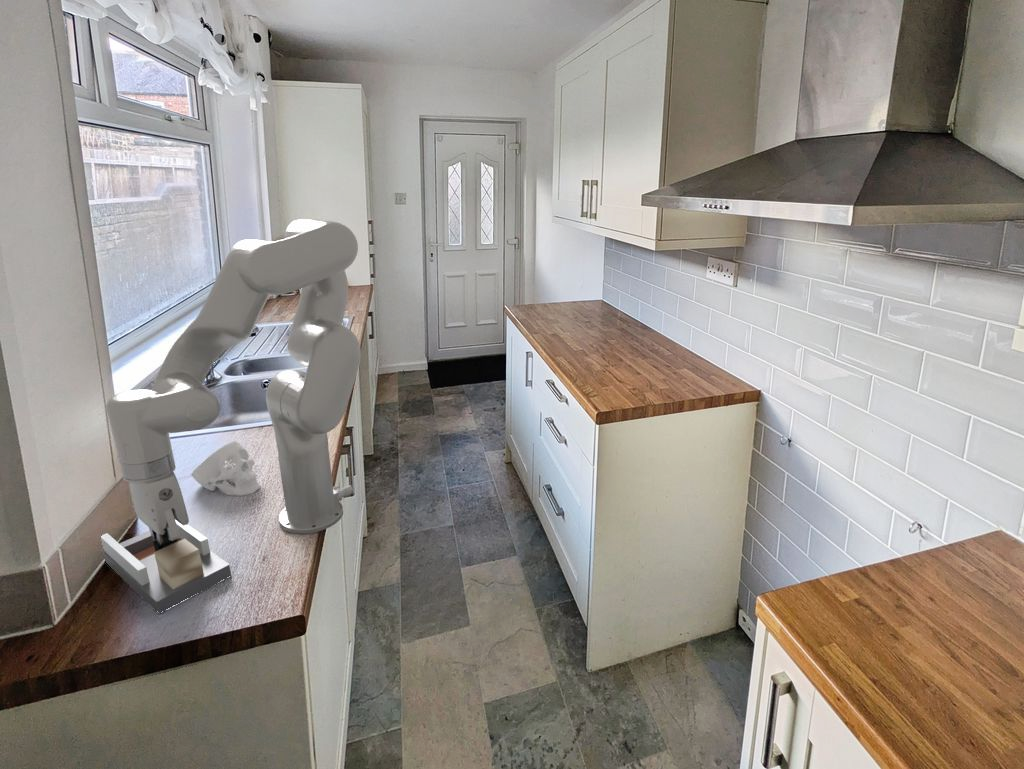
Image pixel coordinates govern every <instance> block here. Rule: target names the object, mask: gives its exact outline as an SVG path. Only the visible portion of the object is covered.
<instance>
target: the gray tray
mask: <svg viewBox="0 0 1024 769" xmlns="http://www.w3.org/2000/svg"><path fill="white" fill-rule="evenodd" d="M175 521H176V524H177V527H178V531H179V534H180V538H178V539H177V540H178V541H180V540H183V539H186V540H187V541H189V542H190V543H191V544H193V545H194V546H195V547H197V548H198V549H199V553H200V558H201V562H202V567H203V572H204V574H203V575H201V576H199V577H197V578H195V579H193V580H191V581H189V582H187V583H185V584H183V585H181V586H179V587H177V588H175V589H172V588H171V587H170V586H169V585H168V584H167V583H166V582H165V581H163V580H162V579H161V578H160V576H159V572H158V567H157V563H156V559H155V555H154V552H155V548H154V544H153V541H155V540H153V539H152V536H151V533H150V530H148V531H145V532H143V533H141V534H138V535H136V536H134V537H132V538H128V539H126V540H124V541H121V542H120V543H119V542H118V541H117V540H116V539H115V538H113V537H112V536H111V535H110V534H109V533H107V532H106V533H104V534H102V536H101V535H100V536H101V540H100V542H101V541H102V543H101V546H102V545H103V547H102V551H103V549H104V551H103V555H104V558H103V560H104V559H105V561H106V563H107V564H108V565H109V566H110V567H111V568H112V569H113V570H114V571H115V572H116V573H117V574H118V575H120V576H121V577H122V578H123V579H124V580H125V581H126V582H127V583H128V584H129V585H130V586H131V587H132V588H133V589H134V590H135V591H136V592H137V593H138V594H139V595H140V596H139V597H141V596H142V597H143V598H144V599H145V600H144V599H143V598H142V597H141V598H142V599H143V600H144V602H146V601H147V602H148V603H149V604H150V605H151V606H152V607H153V608H154V609H155V610H156V611H158V612H159V613H161V612H162V611H165V610H166V609H168V608H170V607H172V606H173V605H176V604H178V603H180V602H181V601H183V600H185V599H187V598H190V597H191V596H193V595H195V594H197V593H199V594H201V593H202V592H201V591H203V590H205V589H207V588H209V587H211V586H213V585H214V586H216V585H218V584H219V583H218V582H220V581H221V580H223V579H226V578H227V577H229V576H231V577H232V572H231V568H230V567H231V566H230V564H229V563H228V562H226V561H225V560H224V559H222V557H219V555H217V554H216V553H214V551H211V549H210V545H209V544H210V543H209V539H208V537H206V536H204V535H203V534H202V533H201V532H200V531H197V529H196V528H193V527H192V526H191V525H189V523H188V524H187V525H182V524H181V523H179V522H178V521H177V520H175ZM156 540H157V539H156ZM103 555H102V556H103ZM106 563H105V564H106ZM107 564H106V565H107ZM108 565H107V566H108ZM109 566H108V567H109ZM110 567H109V568H110ZM111 568H110V569H111ZM112 569H111V570H112ZM113 570H112V571H113ZM114 571H113V572H114ZM115 572H114V573H115ZM116 573H115V574H116ZM117 574H116V575H117ZM118 575H117V576H118ZM229 578H230V577H229ZM123 579H122V580H123ZM124 580H123V581H124ZM226 580H227V579H226ZM125 581H124V582H125ZM126 582H125V583H126ZM127 583H126V584H127ZM217 583H218V584H217ZM220 583H221V582H220ZM128 584H127V585H128ZM215 584H216V585H215ZM129 585H128V586H129ZM130 586H129V587H130ZM214 586H213V587H214ZM131 587H130V588H131ZM132 588H131V589H132ZM211 588H212V587H211ZM133 589H132V590H133ZM209 589H210V588H209ZM134 590H133V591H134ZM207 590H208V589H207ZM135 591H134V592H135ZM205 591H206V590H205ZM136 592H135V593H136ZM200 592H201V593H200ZM203 592H204V591H203ZM137 593H136V594H137ZM138 594H137V595H138ZM197 595H198V594H197ZM190 599H191V598H190ZM147 602H146V603H147ZM148 603H147V604H148ZM149 604H148V605H149ZM150 605H149V606H150ZM151 606H150V607H151ZM152 607H151V608H152ZM153 608H152V609H153ZM154 609H153V610H154ZM155 610H154V611H155ZM159 613H158V614H159Z"/></svg>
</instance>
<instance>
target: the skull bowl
mask: <svg viewBox="0 0 1024 769" xmlns="http://www.w3.org/2000/svg"><path fill="white" fill-rule="evenodd" d="M254 465H255V460H254V458H252V456H251V455H250V454H249V453H248V451H247V449H246V448H245V447H244V446H243V445H242V444H241V443H240V442H239V441H238V440H237V439H233V440H230V441H229V442H227V443H226V444H224V445H222V446H221V447H220V448H218V449H217V450H215V452H212V454H210V455H209V456H208V457H207V458H206V459H204V461H202V463H200V464H199V465H198V466H197V467H196V468H194V470H193V471H192V473H190V474H191V477H192V478H193V479H194V481H196V483H198V484H199V485H201V486H202V487H203V488H205V489H206V490H208V491H211V492H214V491H216V488H218V489H219V490H220V491H221V492H223V494H224V495H227V496H234V497H235V496H236V497H241V496H242V497H243V496H248V495H252V494H253V493H255V492H257V491H258V490H260V488H261V485H260V483H259V482H258V480H257V477H258V474H257V473H256V471H253V466H254ZM229 483H234V484H235V485H232V484H229Z"/></svg>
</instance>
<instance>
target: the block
mask: <svg viewBox="0 0 1024 769" xmlns="http://www.w3.org/2000/svg"><path fill="white" fill-rule="evenodd" d="M154 555H155V559H156V563H157V567H158V572H159V576H160V578H161V579H162V580H163V581H165V582H166V583H167V584H168V585H169V586H170V587H171V588H172V589H175V588H177V587H179V586H181V585H183V584H185V583H187V582H189V581H191V580H193V579H195V578H197V577H199V576H201V575H203V574H204V572H203V567H202V562H201V558H200V553H199V549H198V548H197V547H195V546H194V545H193V544H191V543H190V542H189V541H187V540H186V539H183V540H180V541H178V542H176V543H174V544H171V545H169V546H167V547H165V548H162V549H160V550H158V551H156V552H154Z"/></svg>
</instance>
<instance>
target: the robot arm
mask: <svg viewBox="0 0 1024 769" xmlns="http://www.w3.org/2000/svg"><path fill="white" fill-rule="evenodd" d="M358 251H359V244H358V240H357V237H356V235H355V234H354V233H353V231H352V230H351V229H350V228H349V227H348V226H346V225H345V224H342V223H341V222H336V221H329V220H322V219H314V218H300V219H297V220H293V221H292V222H291V223H290V224H289V225H288V226H287V227H286V230H285V232H284V238H283V239H278V240H275V241H274V240H273V241H268V240H264V239H263V240H262V239H255V238H253V239H251V238H248V239H247V238H246V239H243V240H240V241H238V242H236V243H235V244H234V245H233V246H232V248H231V249H230V250H229V252H228V254H227V256H226V258H225V259H224V262H223V264H222V266H221V268H220V271H219V272H218V274H217V276H216V278H215V281H214V283H213V285H212V286H211V288H210V291H209V293H208V295H207V297H206V299H205V301H204V304H203V305H202V308H201V309H200V311H199V313H198V315H197V316H196V318H195V319H194V320H193V321H192V322H191V323H190V324H189V325H188V326H187V328H186V329H185V330H184V331H183V333H182V334H180V336H179V337H178V338H177V339H176V341H175V342H174V343H173V345H171V348H170V349H169V351H168V353H167V355H166V357H165V359H164V360H163V362H162V364H161V367H160V369H159V371H158V373H157V376H156V377H155V380H154V382H153V383H154V384H153V385H152V386H153V387H152V389H144V388H143V389H142V388H141V389H132V390H131V389H130V390H127V391H122V392H119V393H117V394H114V395H113V396H111V397H110V398H109V399H108V400H107V402H106V407H105V409H106V414H107V417H108V422H109V425H110V430H111V435H112V439H113V442H114V447H115V450H116V451H115V452H116V455H117V458H118V463H119V464H118V465H119V468H120V472H121V475H122V480H123V481H125V483H126V482H127V483H128V485H129V490H130V491H129V492H130V495H131V500H132V504H133V509H134V511H135V512H134V513H136V514H135V515H136V517H137V518H138V519H139V520H140V522H142V523H143V524H144V525H145V526H147V527H148V531H150V533H151V536H152V539H153V540H155V541H153V544H154V548H155V552H156V551H158V550H160V549H162V548H165V547H167V546H169V545H171V544H174V543H176V542H178V540H177V539H178V538H180V534H179V531H178V527H177V524H176V521H175V520H177V521H178V522H179V523H181V524H182V525H187V524H188V525H189V522H190V520H189V516H188V511H187V508H186V505H185V500H184V496H183V493H182V490H181V487H180V483H179V481H178V478H177V476H176V473H175V470H176V467H177V466H176V462H175V458H174V452H173V448H172V442H171V438H170V433H176V432H177V433H179V432H180V433H181V432H189V431H195V430H200V429H203V428H206V427H209V426H210V425H212V424H213V423H214V422H215V421H216V420H217V418H218V417H219V416H220V413H221V410H222V409H221V408H222V407H221V402H220V399H219V397H218V396H217V394H216V393H215V392H214V391H213V390H211V389H210V388H209V387H208V386H206V385H204V384H203V383H204V381H205V379H206V377H207V375H208V373H209V371H210V369H211V367H212V366H213V364H214V362H216V360H217V359H218V357H220V355H221V354H223V353H224V352H225V351H226V350H228V349H230V348H232V347H235V346H236V345H239V344H241V343H242V342H244V341H246V340H248V339H249V338H250V336H251V335H252V333H253V330H254V328H255V327H256V324H257V322H258V320H259V317H260V315H261V313H262V311H263V309H264V307H265V305H266V303H267V301H268V299H269V297H270V295H272V296H279V295H285V294H290V293H292V292H295V291H298V290H300V289H301V292H300V296H299V300H298V304H297V307H296V310H295V314H294V318H293V322H292V325H291V328H290V331H289V336H288V338H287V345H286V346H287V351H288V353H289V355H290V356H291V357H292V359H293V360H294V361H296V362H297V363H299V364H301V365H302V366H305V367H307V369H306V372H305V371H302V370H297V369H287V370H283V371H281V372H279V373H277V374H276V375H275V376H274V377H272V379H271V380H270V381H269V382H268V384H267V388H266V391H265V392H266V394H265V400H266V407H267V411H268V415H269V417H270V421H271V424H272V428H273V433H274V437H275V443H276V449H277V456H278V466H279V471H280V479H281V485H282V491H283V499H284V505H285V507H284V509H282V510H281V512H280V514H279V516H278V524H279V526H280V527H281V529H283V530H284V531H287V532H288V533H291V534H297V535H299V534H300V535H302V534H303V535H304V534H314V533H317V532H322V531H324V530H326V529H329V528H331V527H332V526H334V525H336V524H337V523H338V522H339V521H340V520H341V519H342V517H343V515H344V506H343V504H342V503H341V502H340V501H342V500H343V498H344V497H347V496H349V495H351V494H353V493H354V487H353V486H352V485H350V484H348V485H346V486H344V487H341V486H340V485H339V484H337V485H335V486H334V485H333V477H332V469H331V466H332V465H331V458H330V451H329V439H328V438H329V437H328V433H329V432H331V431H332V430H334V429H335V428H336V427H337V426H338V425H339V424H340V422H341V421H342V419H343V417H344V415H345V413H346V410H347V408H348V404H349V401H350V398H351V394H352V391H353V388H354V385H355V381H356V378H357V374H358V372H359V366H360V363H361V362H360V361H361V353H362V352H361V343H360V341H359V339H358V337H357V335H356V334H355V333H354V332H353V331H352V330H351V329H349V328H348V327H346V326H344V325H343V322H344V317H345V313H346V308H347V304H348V300H349V281H348V277H347V273H346V270H347V269H349V267H350V266H351V265H353V263H354V261H355V260H356V258H357V257H358V256H357V255H358V253H359V252H358ZM156 539H157V540H156Z"/></svg>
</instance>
